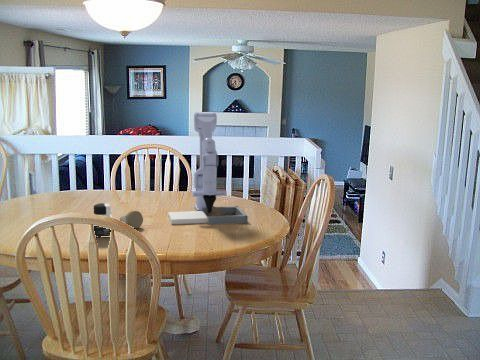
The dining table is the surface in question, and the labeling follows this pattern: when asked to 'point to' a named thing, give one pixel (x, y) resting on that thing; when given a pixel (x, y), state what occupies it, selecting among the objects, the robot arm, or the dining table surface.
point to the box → (237, 218)
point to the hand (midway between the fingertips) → (209, 212)
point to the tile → (217, 211)
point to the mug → (133, 219)
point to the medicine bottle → (104, 211)
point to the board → (187, 217)
